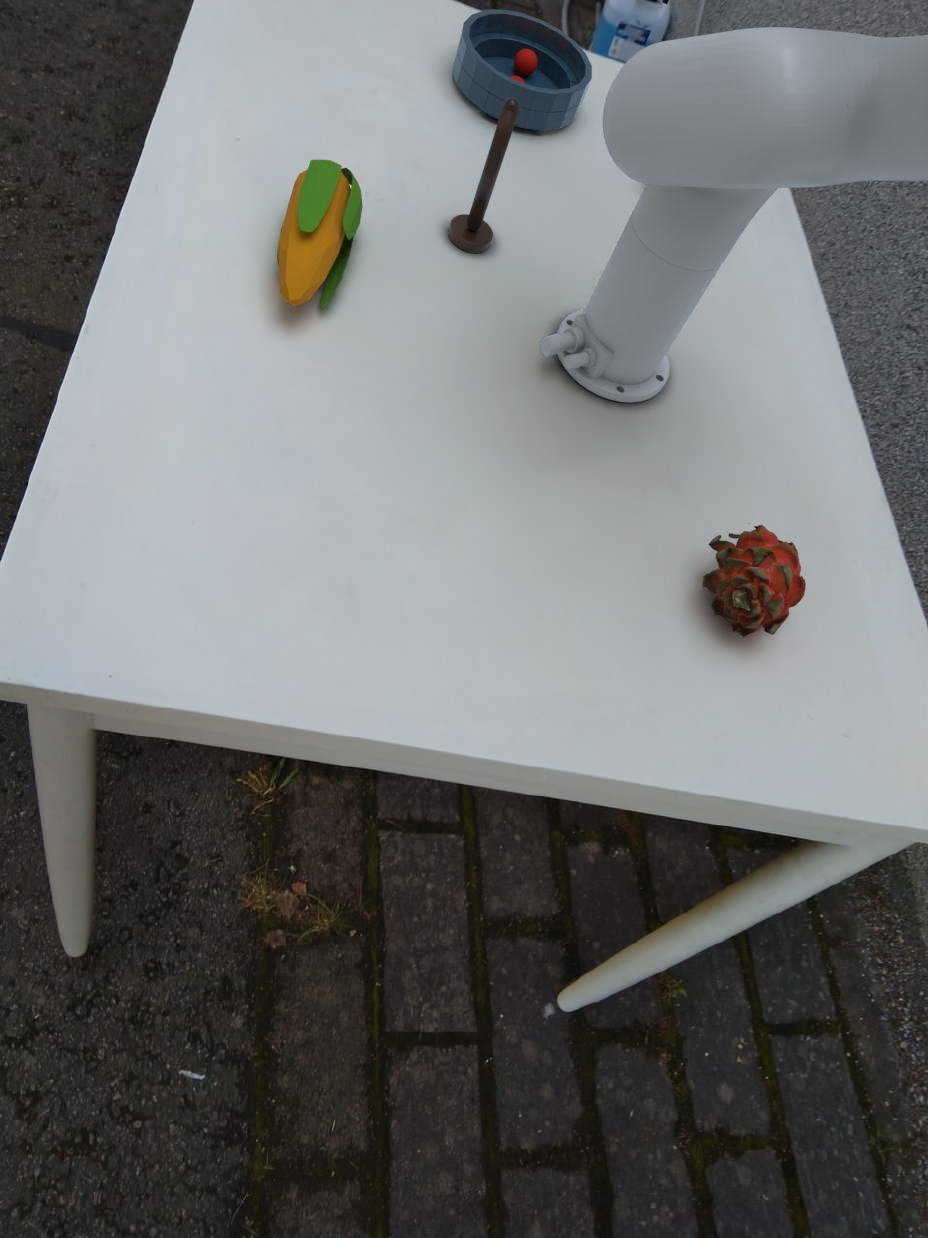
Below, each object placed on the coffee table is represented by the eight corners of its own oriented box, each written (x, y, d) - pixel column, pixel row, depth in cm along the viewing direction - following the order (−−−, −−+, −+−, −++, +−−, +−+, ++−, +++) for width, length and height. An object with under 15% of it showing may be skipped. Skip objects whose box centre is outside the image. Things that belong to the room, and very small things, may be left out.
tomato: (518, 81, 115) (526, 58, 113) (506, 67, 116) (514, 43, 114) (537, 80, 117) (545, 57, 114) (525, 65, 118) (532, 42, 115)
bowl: (494, 141, 109) (508, 97, 104) (427, 56, 114) (437, 10, 110) (599, 129, 117) (617, 88, 112) (532, 50, 122) (546, 7, 117)
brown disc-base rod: (461, 256, 97) (506, 116, 84) (440, 226, 98) (480, 84, 85) (498, 249, 99) (547, 112, 86) (476, 220, 100) (521, 81, 87)
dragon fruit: (704, 660, 81) (718, 572, 89) (805, 661, 77) (810, 570, 85) (693, 589, 76) (708, 503, 84) (801, 587, 72) (806, 497, 80)
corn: (374, 146, 89) (340, 276, 79) (366, 213, 96) (334, 342, 85) (300, 127, 88) (255, 256, 78) (297, 196, 95) (255, 325, 84)
